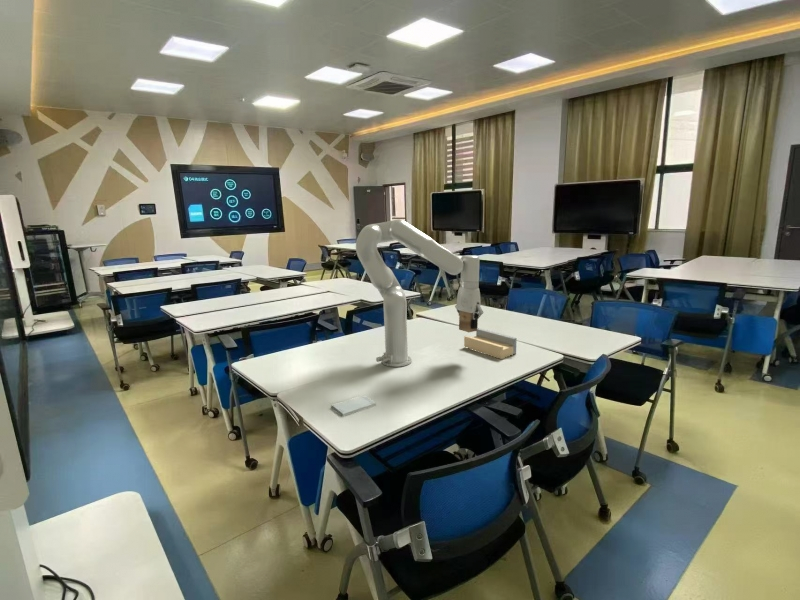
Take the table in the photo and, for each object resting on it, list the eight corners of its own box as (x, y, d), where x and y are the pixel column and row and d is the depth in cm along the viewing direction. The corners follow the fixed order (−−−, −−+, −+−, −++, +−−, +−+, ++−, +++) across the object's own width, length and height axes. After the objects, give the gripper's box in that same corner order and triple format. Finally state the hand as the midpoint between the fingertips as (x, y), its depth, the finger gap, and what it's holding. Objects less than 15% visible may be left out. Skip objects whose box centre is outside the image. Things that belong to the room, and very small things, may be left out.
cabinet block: (467, 332, 169) (468, 311, 168) (457, 329, 174) (457, 309, 172) (477, 330, 173) (478, 310, 171) (467, 327, 178) (467, 307, 176)
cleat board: (500, 359, 175) (501, 342, 173) (464, 347, 192) (464, 332, 191) (516, 354, 181) (516, 337, 179) (479, 343, 198) (479, 328, 197)
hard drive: (342, 413, 128) (375, 402, 135) (330, 404, 134) (362, 394, 142) (343, 418, 128) (376, 406, 135) (331, 409, 135) (363, 398, 142)
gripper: (448, 283, 175) (447, 323, 178) (478, 288, 161) (477, 332, 164) (461, 281, 179) (460, 321, 182) (491, 286, 165) (489, 329, 169)
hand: (468, 326), depth 173 cm, fingers closed on cabinet block, 6 cm apart
